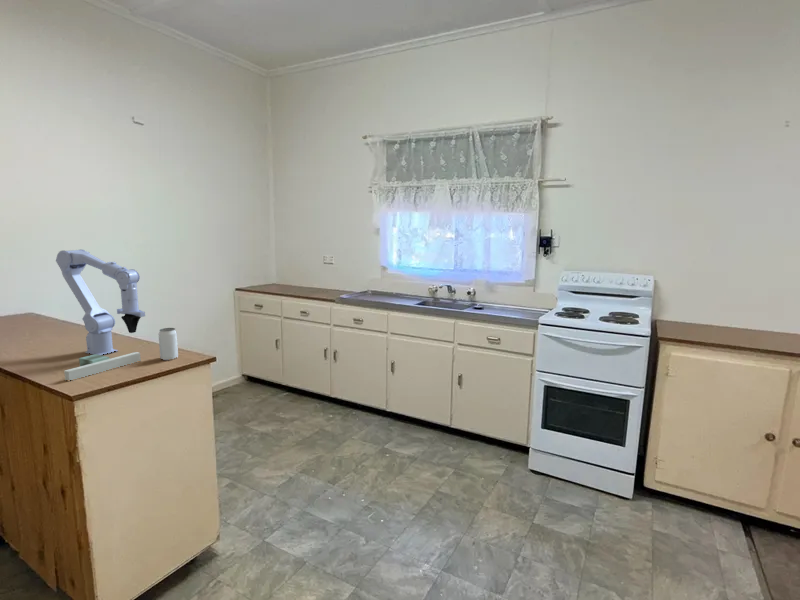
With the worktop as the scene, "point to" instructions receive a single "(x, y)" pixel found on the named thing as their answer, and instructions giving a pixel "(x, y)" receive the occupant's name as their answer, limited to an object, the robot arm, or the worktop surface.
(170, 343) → the can
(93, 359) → the block
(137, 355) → the board
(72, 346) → the worktop surface
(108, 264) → the robot arm
